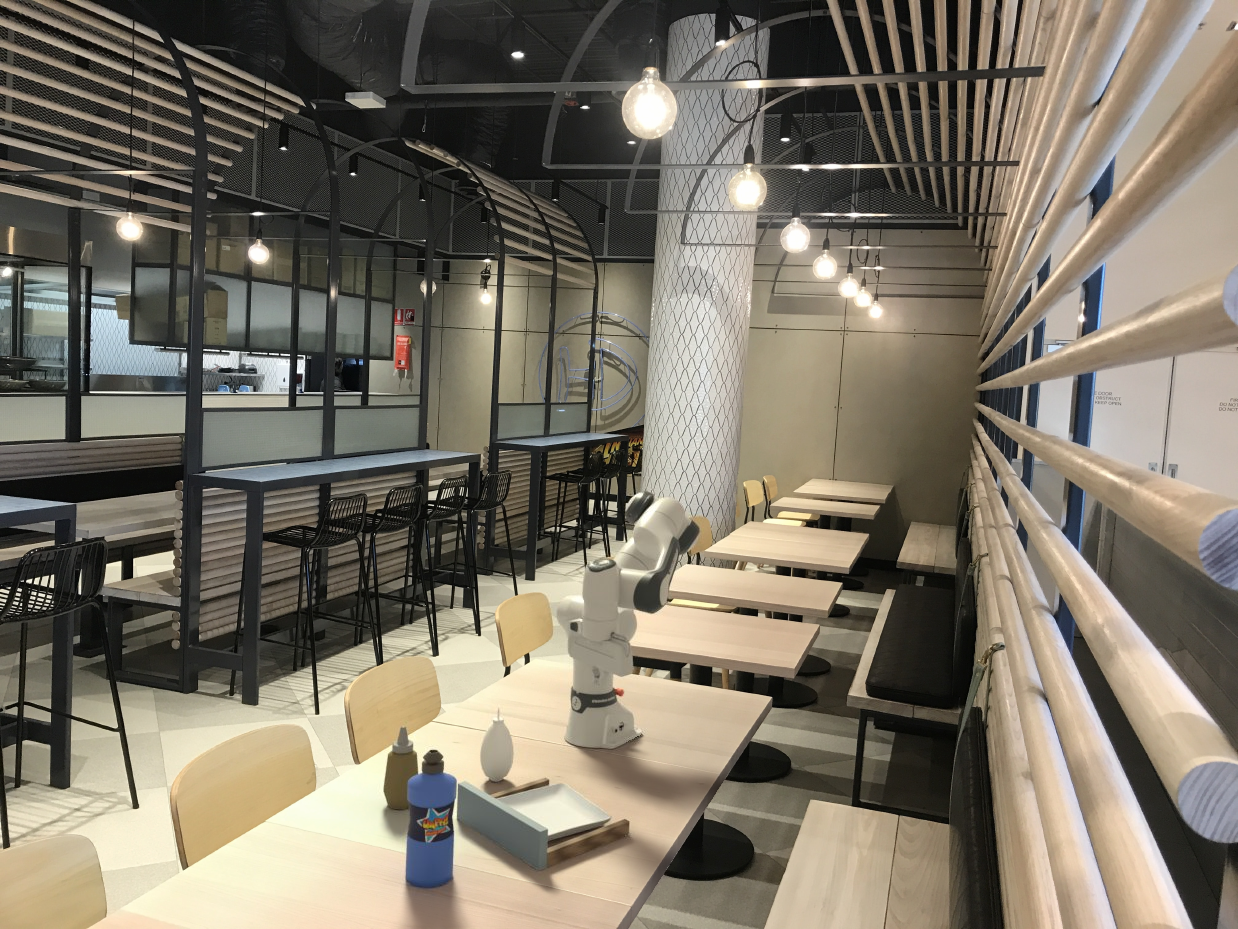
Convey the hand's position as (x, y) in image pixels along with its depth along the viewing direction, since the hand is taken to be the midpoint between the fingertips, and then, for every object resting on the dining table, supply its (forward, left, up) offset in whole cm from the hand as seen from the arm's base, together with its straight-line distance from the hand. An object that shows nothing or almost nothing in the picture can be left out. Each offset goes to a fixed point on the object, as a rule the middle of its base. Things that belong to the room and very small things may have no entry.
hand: (599, 684), depth 228 cm
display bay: (+22, +8, -26) cm, 35 cm away
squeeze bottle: (+41, -20, -26) cm, 52 cm away
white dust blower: (+16, -18, -26) cm, 35 cm away
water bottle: (+53, +11, -26) cm, 60 cm away
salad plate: (+20, +7, -26) cm, 34 cm away
